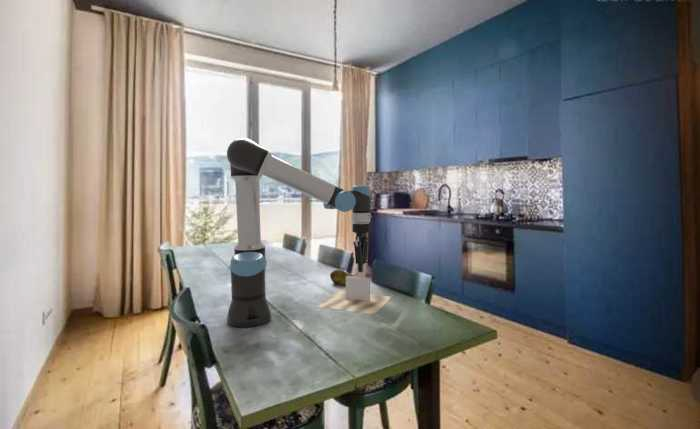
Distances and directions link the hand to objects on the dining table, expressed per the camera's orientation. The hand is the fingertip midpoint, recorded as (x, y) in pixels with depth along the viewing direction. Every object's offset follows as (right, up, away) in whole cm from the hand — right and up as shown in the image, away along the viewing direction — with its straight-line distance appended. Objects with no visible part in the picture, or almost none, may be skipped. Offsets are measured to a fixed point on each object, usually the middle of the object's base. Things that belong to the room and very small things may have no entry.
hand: (361, 278), depth 150 cm
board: (-3, -9, -6) cm, 12 cm away
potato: (-8, -8, +19) cm, 22 cm away
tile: (-2, -8, -4) cm, 9 cm away
